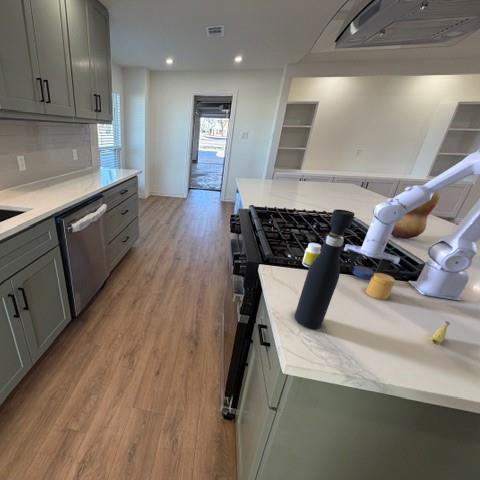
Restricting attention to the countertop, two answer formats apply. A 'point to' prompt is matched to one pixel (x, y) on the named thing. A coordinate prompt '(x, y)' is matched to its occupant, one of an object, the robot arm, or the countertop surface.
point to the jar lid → (363, 272)
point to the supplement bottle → (311, 254)
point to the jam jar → (380, 286)
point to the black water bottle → (323, 274)
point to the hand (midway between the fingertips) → (361, 274)
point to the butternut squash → (415, 220)
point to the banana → (440, 334)
